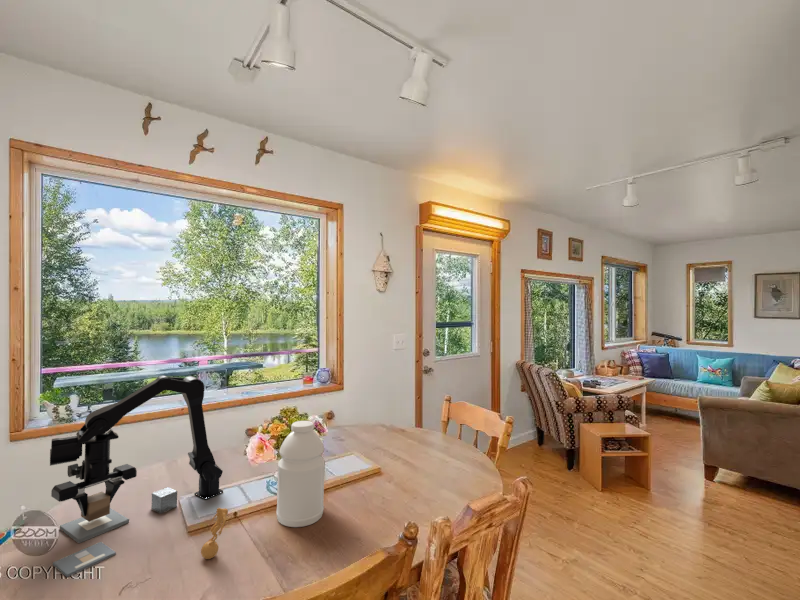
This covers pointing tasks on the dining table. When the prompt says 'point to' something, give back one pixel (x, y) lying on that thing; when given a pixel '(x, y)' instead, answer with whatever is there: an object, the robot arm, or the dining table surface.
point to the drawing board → (83, 559)
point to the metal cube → (164, 500)
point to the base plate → (93, 526)
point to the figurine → (214, 535)
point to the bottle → (300, 477)
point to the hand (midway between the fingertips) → (95, 511)
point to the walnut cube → (97, 506)
